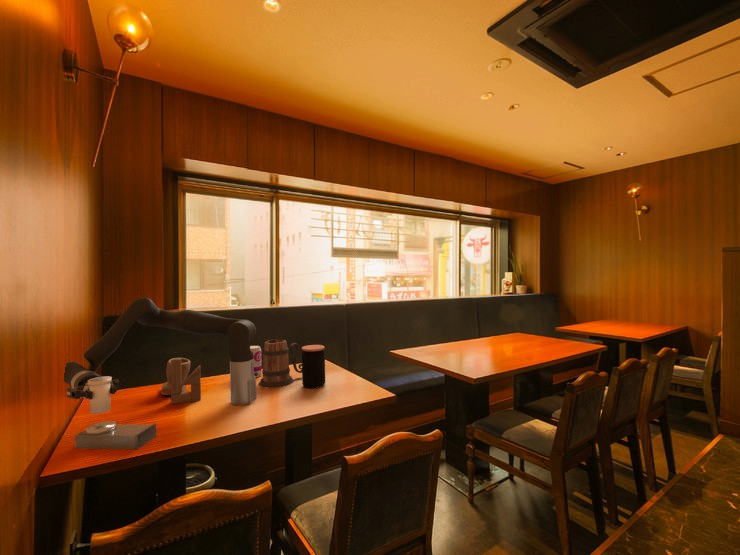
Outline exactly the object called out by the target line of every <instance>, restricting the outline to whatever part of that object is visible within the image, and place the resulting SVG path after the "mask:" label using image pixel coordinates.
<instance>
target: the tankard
mask: <svg viewBox="0 0 740 555" xmlns="http://www.w3.org/2000/svg"><path fill="white" fill-rule="evenodd" d="M295 346H296V347H295ZM295 348H296V349H295ZM294 350H295V351H294ZM289 352H290V353H292V354H293V356H292V366H293V369H294V371H295V372H296V373H299V374H302V363H299V364H298V367H297V356H298V354H299V352H300V345H299V343H297V342H293V343H291V344H290V345H289V347H288V342H287V340H286V339H269V340H267V341H265V342H264V345H263V349H262V354H263V355H262V356H263V357H262V358H263V360H262V374H261V375H262V377H261V379H260V381H259V382H258V386H259V387H261V386H262V387H261V388H265V387H268V388H269V389H274V388H275V389H276V387H277V388H282V387H283V386H284V387H287V386H291V385H292V384H293V383H294V382H295V380H294V378H293V377H292V375H290V374H291V368H290V360H289ZM284 387H283V388H284ZM268 388H267V389H268Z"/></svg>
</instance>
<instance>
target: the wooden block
mask: <svg viewBox="0 0 740 555" xmlns="http://www.w3.org/2000/svg"><path fill="white" fill-rule="evenodd" d="M174 358H175V359H172V358H171V359H172V360H171V368H172V395H170V399H171V400H170V402H171V403H170V404H171V405H177V404H176V403H178V404H183V403H184V402H185V403H189V402H190V403H191V402H192V401H193V402H198V400H199V401H201V399H202V388H201V384H202V382H201V364H199V365H198V366H197V367H196V368H195V369H194V370H193V371H192V372H191V374H188V375H187V377H186V380H185V381H184V382H183V383H182V372H181V359H180V358H181V357H174ZM184 385H186V386H189V385H190V391H185V392H182V386H184Z"/></svg>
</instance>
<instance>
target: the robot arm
mask: <svg viewBox="0 0 740 555" xmlns="http://www.w3.org/2000/svg"><path fill="white" fill-rule="evenodd" d="M136 322H137V323H138V324H140V325H143V326H147V327H160V328H167V329H171V330H177V331H180V332H185V333H189V334H195V335H207V336H208V335H220V336H221V335H222V336H226V345H227V346H226V348H227V355H228V357H229V376H230V377H229V380H230V382H229V384H230V387H229V388H230V389H229V390H230V404H231V405H235V406H243V405H249V404H252V403H253V402H255V400H256V399H257V377H256V376H254V354H253V352H252V351H251V350H250V346H251V340H252V339H253V338H254V337H255V336H256V334H257V328H256V326H255V324H254V323H253V322H252V321H250V320H248V319H240V318H239V319H238V318H228V317H223V316H220V315H216V314H212V313H206V312H203V311H199V310H193V309H192V310H191V309H183V310H178V311H170V310H166V309H162V308H160V307H158V306H157V305H156V304H155V302H154V301H153V300H152V299H151V298H149V297H146V296H145V297H144V296H143V297H138V298H136V299H135V300H133V301H132V302H131V303H130V304H129V305H128V306H127V308H126V309H125V310H124V311H123V312H122V314H121V315H120V316H119V317H118V318H117V320H115V322H113V324H112V326H111V327H109V329H108V330H107V331H106V332H105V333H104V334H103V336H101V337H100V339H98V340H96V342H95V343H93V345H91V346H90V347H89V348H88V349H87V350H86V351H85V352H84V353H83V358H84V359H85V360H86V362H88V367H87V368H86V367H84V366H83V365H81V364H80V363H78V362H77V361H68V362H66V367H65V373H64V381H63V382H64V383H65V382H66V383H65V384H67V385H69V386H70V387H68V388H67V389H66V397H67V398H70V399H74V400H80V399H81V398H83V399H85V400H87V399H88V400H89V401H90V399H93V393H92V391H90V389H89V386H88V380H90V379H93V378H97V377H103V376H102V375H101V374H98V373H96V372H97V371H98V369H99V368H100V367H101V365H102V364H103V363H104V362H106V360H107V359H108V358H109V357H110V356H111V355H112V354H114V352H116V350H117V349H118V348H119V347H120V345H121V343H122V341H123V340H124V336H125V335H126V333H127V332H128V331H129V329H130V328H131V327H132V325H133V324H135V323H136ZM119 390H120V380H119V378H114V379H113V380H112V382H110V395H115V394H116V393H117V391H119Z"/></svg>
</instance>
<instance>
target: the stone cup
mask: <svg viewBox="0 0 740 555" xmlns="http://www.w3.org/2000/svg"><path fill="white" fill-rule="evenodd" d="M175 358H176V357H174V358H170V359H169V360H168V361H167V363H166V371H165V372H166V373H165V374H166V378H167V381H166V382H163V383H162V385H161V388H160V389H161V390H160V392H161V395H163V396H172V368H171V360H172V359H175ZM179 358H180V359H181V372H182V383H183V382H184V381H185V380H186V379H187V378H188V376H189V372H190V371H191V370H190V369H191V363H192V362H191V360H190V359H188V358H184V357H179ZM186 391H187V385H184V386H182V392H186Z"/></svg>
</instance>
